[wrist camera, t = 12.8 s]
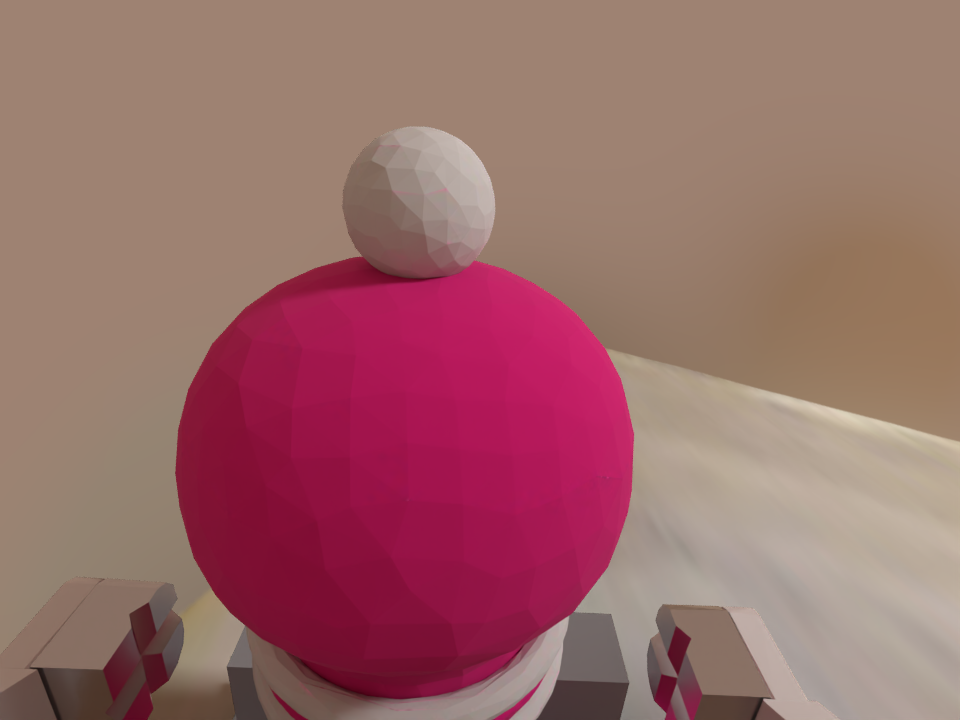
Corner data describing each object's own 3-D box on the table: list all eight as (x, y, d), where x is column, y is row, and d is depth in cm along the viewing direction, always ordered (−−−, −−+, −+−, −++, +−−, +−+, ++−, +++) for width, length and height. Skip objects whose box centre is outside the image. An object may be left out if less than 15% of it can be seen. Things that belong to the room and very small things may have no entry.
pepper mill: (506, 781, 18) (595, 130, 10) (590, 1145, 12) (1019, 180, 4) (276, 828, 17) (161, 103, 9) (231, 1276, 10) (-395, 106, 2)
